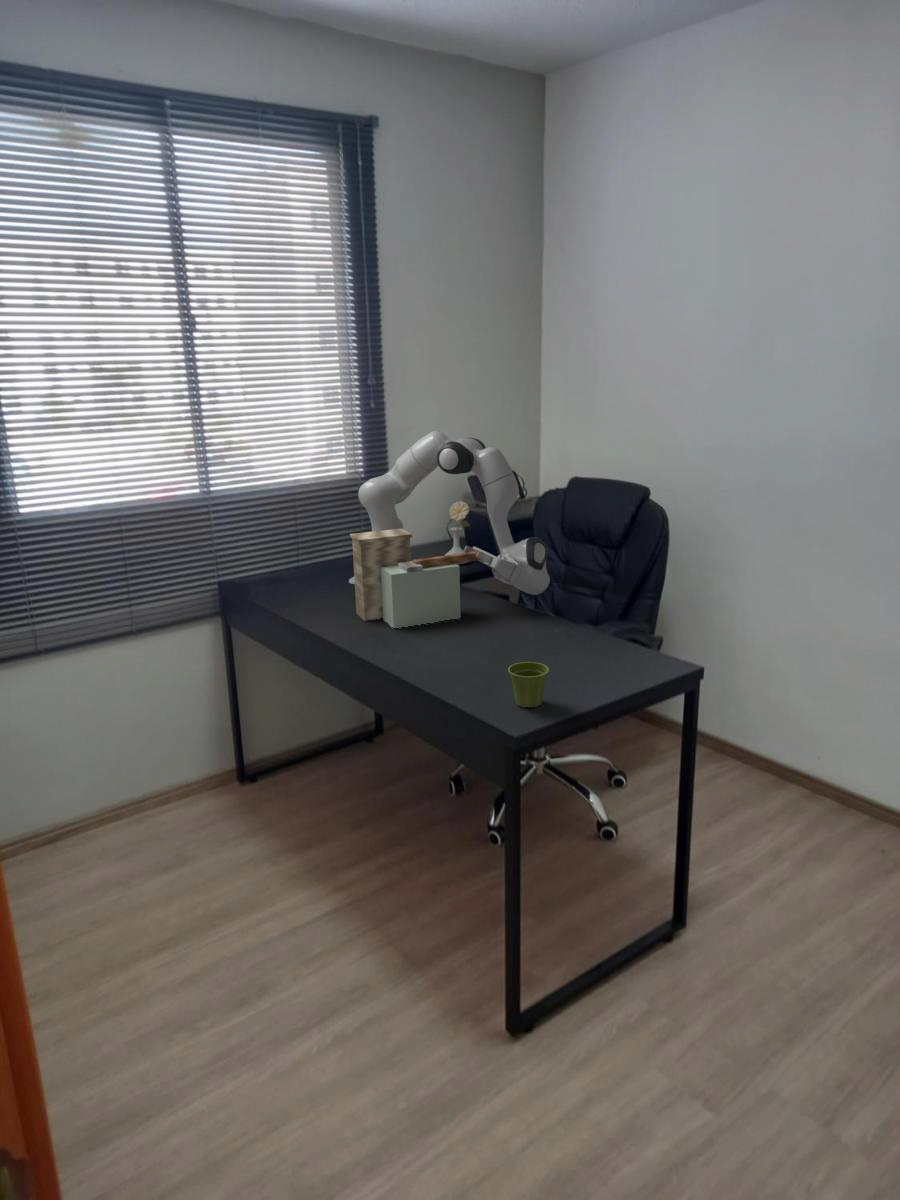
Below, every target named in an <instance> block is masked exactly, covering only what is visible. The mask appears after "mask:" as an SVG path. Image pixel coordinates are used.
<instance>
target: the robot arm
mask: <svg viewBox="0 0 900 1200" xmlns="http://www.w3.org/2000/svg"><path fill="white" fill-rule="evenodd" d="M437 468H439V469H440V470H441V471H443V472H444V473H446V474H449V475H461V474H469V473H473V474H474V475H476V477H477V478H478V480H479V482H480V485H481V487H482V489H483V492H484V495H485V500H486V507H485V509H486V517H487V519H488V520H487V521H488V523H489V527H490V530H491V534H492V537H493V540H494V543H495V547H496V551H497V556H496V555H494V554H492V553H490V552H488V551H485V550H483V549H482V548H479V547H477V546H472V547H471V546H468V545H466V546H465V547H464V549H463V550H464V551H465V552H473V551H477V552H476V554H475V556H476V557H478V558H480V559H482V560H477V562H480V563H482V564H484V565H485V566H488V567H490V568H491V572H492V574H493V577H494V578H495V579H497V580H498V581H501V582H502V583H505V584H507V585H509V586H513V587H514V588H516V589H517V590H519V591H522V592H524V593H526V594H529V595H532V596H538V595H540V594H542V593H544V592H545V591H546V589H547V588H548V587H549V585H550V582H551V581H550V580H551V579H550V577H551V576H550V575H549V573H548V571H547V556H548V549H547V546H546V544H545V543H544V542H543V540H542V539H540V538H539V537H537V536H531V537H528V538H526V539H522V540H520V541H518V542H516V543H515V542H514V540H513V537H512V534H511V533H512V532H511V530H510V526H509V523H508V515H509V514H508V513H509V512H510V510H511V507H513V505H514V503H515V502H516V501H517V499H518V495H519V491H520V490H519V489H520V488H519V484H518V481H517V478H516V476H515V474H514V472H513V469H512V468H511V465H510V464H509V462H508V460H507V459H506V457H505V456H504V454H503V453H502V450H500V448H497V447H495V446H494V447H493V446H492V447H489V446H488V447H486V446H485V444H484V443H483V441H481V440H480V439H479V438H474V437H465V438H463V437H462V438H458V439H455V440H450V438H448V436H447V435H446V434H445V433H444V432H441V431H437V430H434V431H431V432H428V433H427V434H426V435H424V436H422V437H421V438H420V439H419V440H417V441H416V442H414V443H413V444H412V445H411V446H410V447H409V448H408V449H407V450H406V451H404V453H402V454H401V455H400V456H399V457H398V458H397V459H396V461H395V463H394V465H393V466H392V468H391V469H390V470H389V471H388V472H386V473H383V474H382V475H380V476H375V477H373V478H369V479H368V480H367V481H365V482H364V483H363V484H361V485H360V487H359V489H358V495H357V496H358V501H359V502H360V504H361V505H362V506H363V508H365V509H366V512H367V514H368V517H369V520H370V525H371V532H373V531H382V530H392V529H403V530H404V524H403V522H402V520H401V519H400V518H399V516H398V513H397V509H396V505H398V504H400V503H402V502H404V501H405V500H406V499H407V498H409V497H410V495H411V494H412V492H413V491H414V490H415V489H416V488H417V486H418V485H419V484H420V483H421V482H422V481H423V480H425V479H426V478H427V477H428V476H429V475H430V474H431V473H432V472H434V471H435V470H436V469H437ZM479 551H481V552H483V553H481V552H479ZM348 583H349V584H352V585H355V579H354V576H352V577H351V578H349V579H348Z"/></svg>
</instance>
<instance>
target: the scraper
mask: <svg viewBox="0 0 900 1200" xmlns="http://www.w3.org/2000/svg"><path fill="white" fill-rule="evenodd" d="M465 552H466V551H465ZM476 552H477V551H473V552H466V553H459V554H452V555H445V554H444V555H445V556H444V555H440V556H432V557H426V558H417V559H412V560H411V561H409V562H402V563H398V568H399V569H401V570H403V571H405V572H407V573H410V572H416V571H422V568H429V567H436V566H443V565H450V564H456V563H463V562H467V563H470V562H476V561H477V562H478V560H482V559H480V558H478V557H476V556H475V554H476ZM479 552H481V551H479ZM481 553H483V552H481Z"/></svg>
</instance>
